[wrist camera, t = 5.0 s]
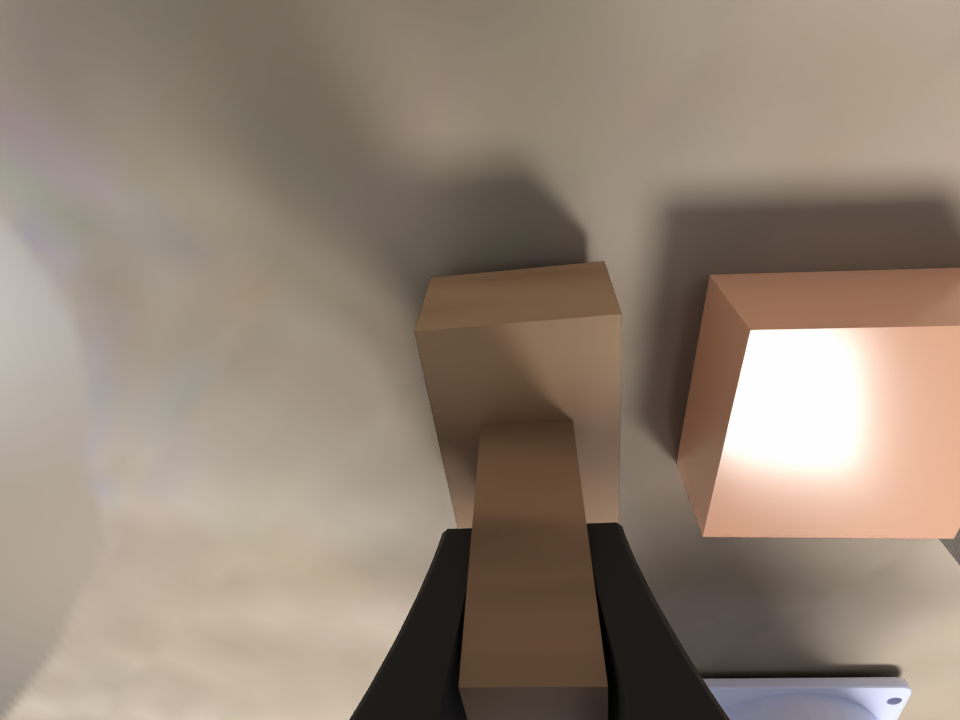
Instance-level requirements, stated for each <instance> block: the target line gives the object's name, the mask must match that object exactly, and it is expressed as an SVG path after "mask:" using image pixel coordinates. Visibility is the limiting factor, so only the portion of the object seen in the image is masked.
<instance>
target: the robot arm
mask: <svg viewBox="0 0 960 720" xmlns="http://www.w3.org/2000/svg"><path fill="white" fill-rule="evenodd" d="M586 524H587V532H588V539H589V547H590V554H591V562H592V570H593V577H594V585H595V592H596V600H597V607H598V615H599V623H600V630H601V638H602V645H603V653H604V661H605V668H606V676H607V683H608V720H897V719H898V717H899V715H900V713H901V711H902V709H903V708H904V706H905V704H906V702H907V700H908V698H909V696H910V695H911V691H912V690H911V688H910V686H909V685H908V683H907V681H906V680H905V679H902V678H900V677H836V678H714V679H703V678H702V677H701V675H700V674H699V672H698V671H697V669H696V668H695V666H694V664H693V663H692V661H691V660H690V658H689V656H688V655H687V653H686V652H685V650H684V648H683V647H682V645H681V643H680V642H679V640H678V638H677V637H676V635H675V633H674V631H673V630H672V628H671V626H670V624H669V623H668V621H667V619H666V617H665V616H664V614H663V612H662V610H661V609H660V607H659V605H658V603H657V602H656V600H655V598H654V596H653V594H652V592H651V590H650V588H649V586H648V584H647V582H646V580H645V578H644V576H643V574H642V572H641V570H640V568H639V566H638V564H637V562H636V560H635V558H634V555H633V553H632V551H631V549H630V546H629V544H628V541H627V539H626V536H625V533H624V530H623V527H622V526H621V525H619V524H618V523H617V522H610V523H586ZM471 533H472V528H462V529H447V530H446V531H445V532H444V533H443V534H442V536H441V539H440V542H439V545H438V548H437V550H436V553H435V556H434V558H433V561H432V563H431V565H430V568H429V570H428V573H427V575H426V577H425V579H424V582H423V584H422V586H421V588H420V591H419V593H418V595H417V597H416V599H415V601H414V603H413V605H412V607H411V609H410V611H409V614H408V616H407V618H406V620H405V622H404V624H403V626H402V628H401V630H400V632H399V634H398V636H397V638H396V640H395V641H394V643H393V645H392V647H391V649H390V651H389V652H388V654H387V656H386V658H385V660H384V661H383V663H382V665H381V667H380V669H379V670H378V672H377V674H376V676H375V678H374V679H373V681H372V683H371V685H370V687H369V688H368V690H367V692H366V693H365V695H364V697H363V698H362V700H361V702H360V703H359V705H358V707H357V708H356V710H355V711H354V713H353V715H352V716H351V718H350V720H467V716H466V713H465V709H464V706H463V702H462V699H461V695H460V692H459V688H458V687H459V675H460V663H461V651H462V639H463V628H464V616H465V604H466V592H467V580H468V569H469V557H470V545H471Z"/></svg>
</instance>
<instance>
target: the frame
mask: <svg viewBox="0 0 960 720" xmlns="http://www.w3.org/2000/svg"><path fill="white" fill-rule="evenodd" d="M939 540H940V541H941V542H942V543H943V545H944V546H945V547H946V548H947V550H948V551H949V552H950V553H951V555H952V556H953V557H954V558H955V560H956V561H957V562H958V563H959V565H960V529H959V530H958V532H957V534H956V535H955V537H954V539H939Z"/></svg>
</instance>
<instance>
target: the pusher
mask: <svg viewBox="0 0 960 720" xmlns="http://www.w3.org/2000/svg"><path fill="white" fill-rule="evenodd" d="M414 332H415V337H416V341H417V346H418V350H419V355H420V359H421V364H422V368H423V373H424V377H425V382H426V387H427V391H428V396H429V400H430V405H431V409H432V414H433V418H434V423H435V427H436V432H437V437H438V441H439V446H440V450H441V455H442V459H443V464H444V468H445V473H446V477H447V482H448V487H449V491H450V496H451V500H452V505H453V509H454V514H455V518H456V523H457V527H458V529H462V528H472V533H471V545H470V557H469V569H468V580H467V592H466V604H465V616H464V628H463V639H462V651H461V663H460V675H459V687H458V688H459V692H460V695H461V699H462V702H463V706H464V709H465V713H466V716H467V720H608V683H607V676H606V668H605V661H604V653H603V645H602V638H601V630H600V623H599V615H598V607H597V600H596V592H595V585H594V577H593V570H592V562H591V554H590V547H589V539H588V532H587V524H586V523H610V522H617V523H618V524H619V471H620V401H621V332H622V313H621V310H620V307H619V304H618V301H617V298H616V295H615V292H614V289H613V286H612V283H611V280H610V277H609V274H608V271H607V268H606V265H605V262H604V261H601V262H590V263H580V264H569V265H558V266H548V267H537V268H526V269H516V270H505V271H494V272H484V273H473V274H462V275H452V276H441V277H431V279H430V282H429V285H428V288H427V292H426V295H425V298H424V301H423V305H422V308H421V311H420V314H419V318H418V321H417V324H416V328H415V331H414Z"/></svg>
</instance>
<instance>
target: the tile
mask: <svg viewBox="0 0 960 720" xmlns="http://www.w3.org/2000/svg"><path fill="white" fill-rule="evenodd" d="M677 466H678V469H679V472H680V475H681V477H682V480H683V483H684V486H685V489H686V492H687V494H688V497H689V500H690V503H691V506H692V508H693V511H694V514H695V517H696V520H697V523H698V525H699V528H700V531H701V534H702V537H785V538H935V539H954V537H955V535H956V534H957V532H958V530H959V529H960V268H928V269H892V270H857V271H822V272H786V273H751V274H715V275H710V276H709V282H708V287H707V293H706V299H705V304H704V310H703V316H702V321H701V327H700V333H699V338H698V344H697V350H696V355H695V361H694V367H693V372H692V378H691V384H690V389H689V395H688V401H687V406H686V412H685V418H684V423H683V429H682V435H681V440H680V446H679V452H678V458H677Z"/></svg>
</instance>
